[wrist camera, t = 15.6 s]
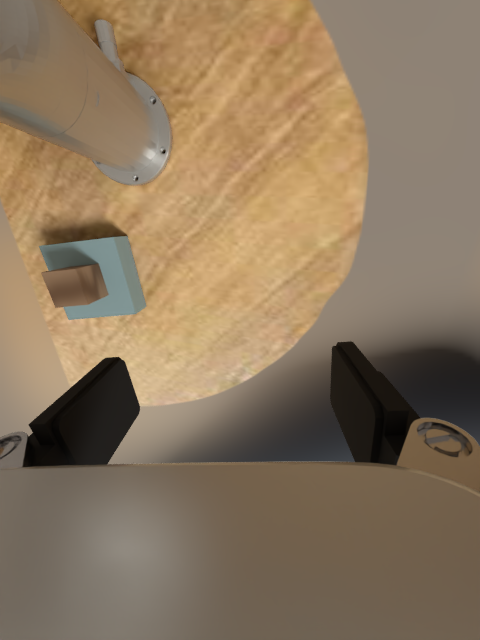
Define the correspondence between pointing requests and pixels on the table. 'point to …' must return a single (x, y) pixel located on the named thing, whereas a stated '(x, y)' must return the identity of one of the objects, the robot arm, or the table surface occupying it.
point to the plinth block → (114, 269)
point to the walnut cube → (75, 285)
